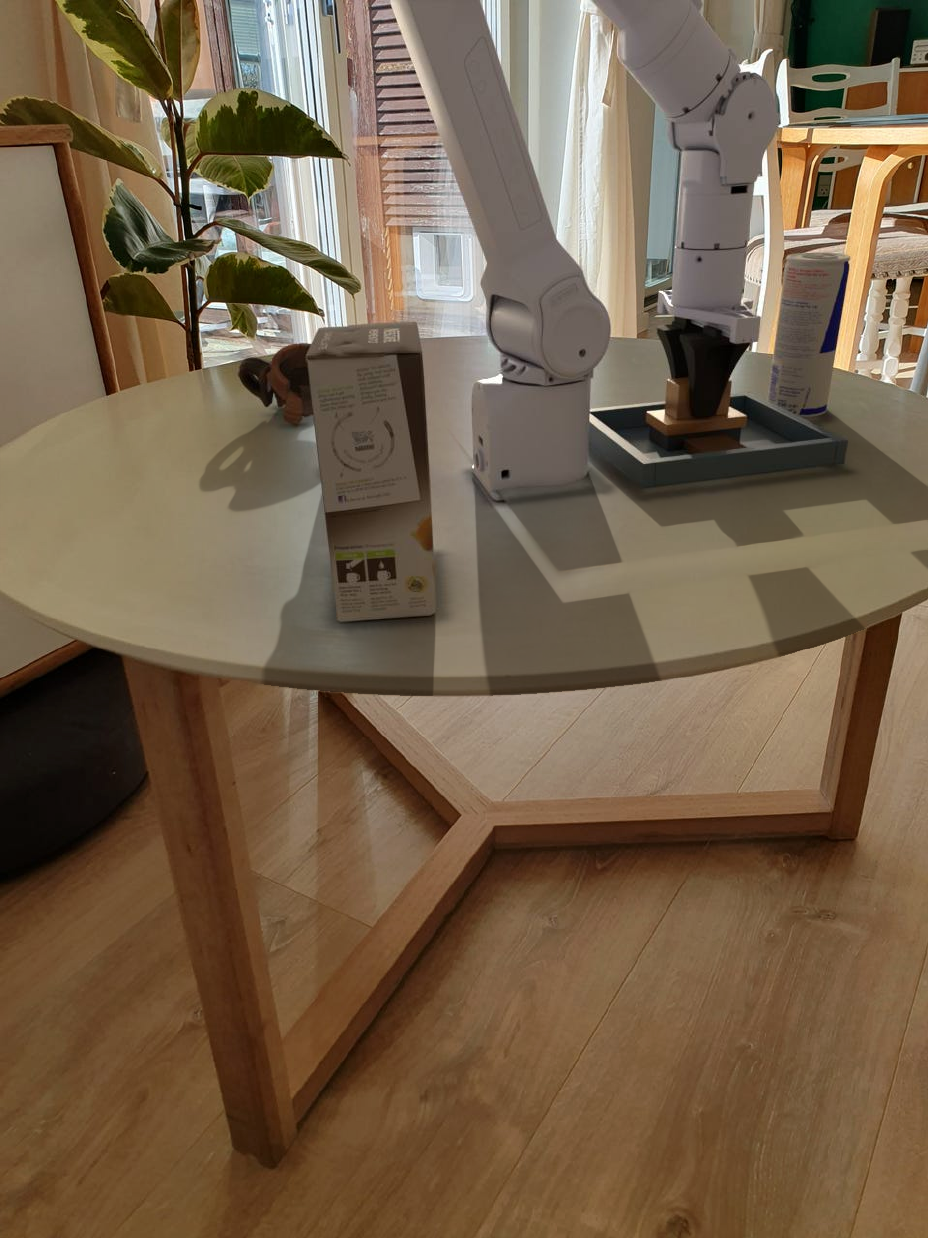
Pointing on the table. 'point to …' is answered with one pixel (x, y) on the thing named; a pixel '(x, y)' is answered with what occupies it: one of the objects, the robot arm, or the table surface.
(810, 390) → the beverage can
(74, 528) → the table surface
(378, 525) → the coffee box
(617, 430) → the tray
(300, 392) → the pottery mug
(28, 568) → the table surface
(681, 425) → the brush
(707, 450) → the mud patch
